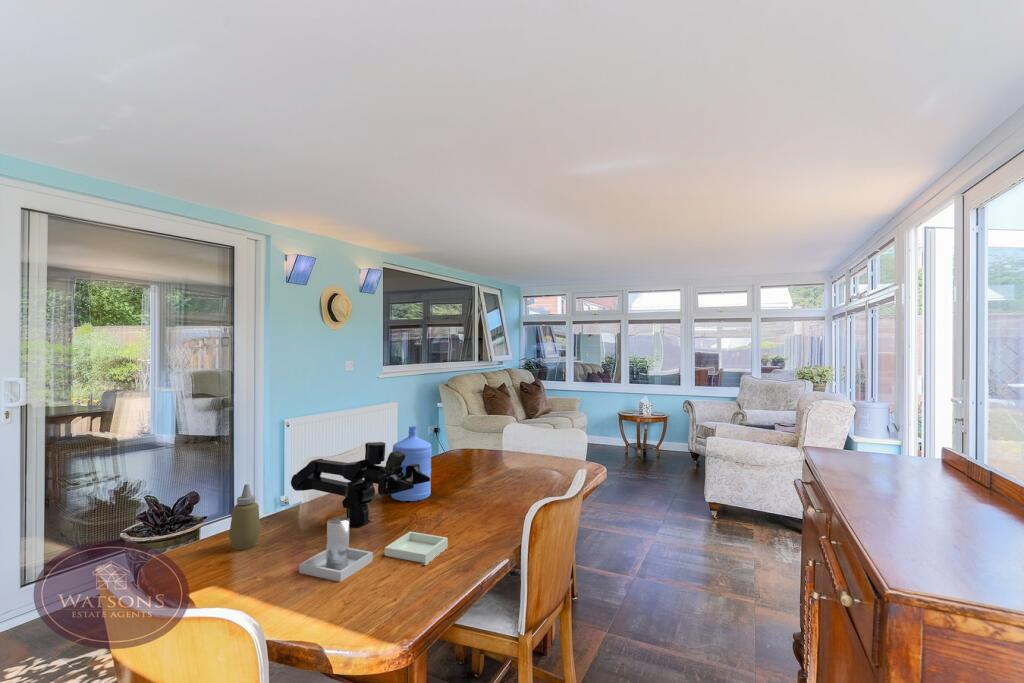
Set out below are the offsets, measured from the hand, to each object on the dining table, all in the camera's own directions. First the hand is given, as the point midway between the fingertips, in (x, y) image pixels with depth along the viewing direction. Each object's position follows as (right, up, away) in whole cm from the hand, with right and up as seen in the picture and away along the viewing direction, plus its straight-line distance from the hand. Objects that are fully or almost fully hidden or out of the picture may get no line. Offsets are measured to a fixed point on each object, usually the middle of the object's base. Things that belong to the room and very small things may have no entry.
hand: (421, 482), depth 149 cm
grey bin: (-18, -16, -25) cm, 34 cm away
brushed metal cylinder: (-18, -15, -25) cm, 34 cm away
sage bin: (+1, -16, -13) cm, 21 cm away
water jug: (-12, -18, +41) cm, 47 cm away
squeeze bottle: (-50, -16, -11) cm, 54 cm away
